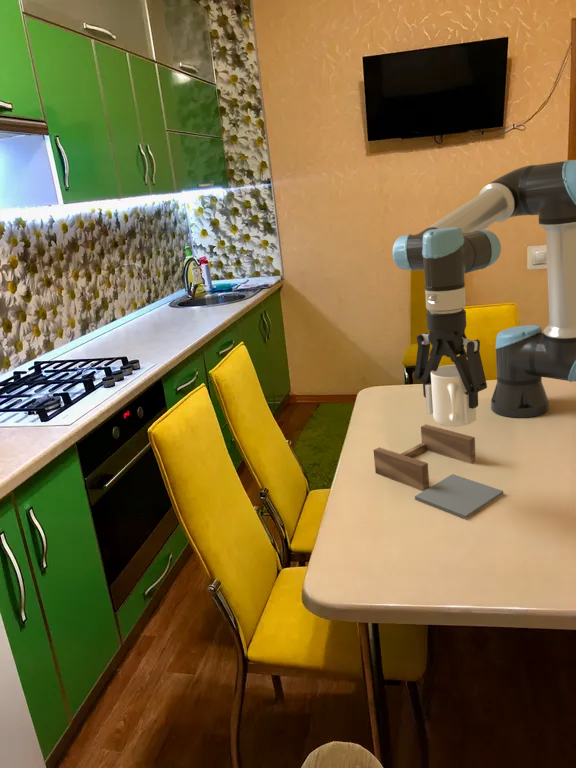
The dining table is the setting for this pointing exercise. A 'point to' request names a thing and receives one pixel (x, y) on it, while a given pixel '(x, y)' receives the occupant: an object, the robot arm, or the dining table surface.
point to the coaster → (459, 496)
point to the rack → (432, 440)
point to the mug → (448, 396)
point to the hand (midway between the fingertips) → (450, 417)
